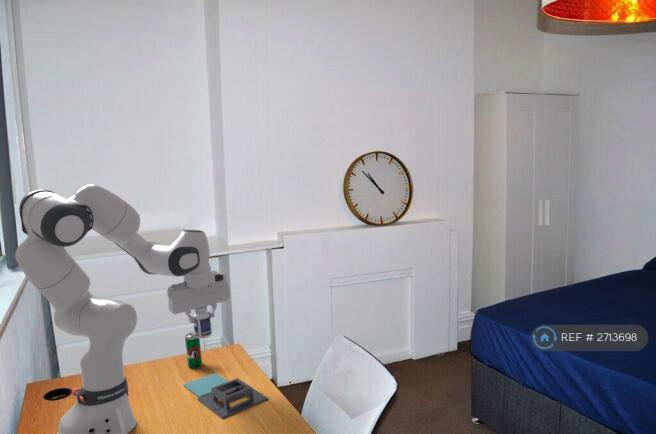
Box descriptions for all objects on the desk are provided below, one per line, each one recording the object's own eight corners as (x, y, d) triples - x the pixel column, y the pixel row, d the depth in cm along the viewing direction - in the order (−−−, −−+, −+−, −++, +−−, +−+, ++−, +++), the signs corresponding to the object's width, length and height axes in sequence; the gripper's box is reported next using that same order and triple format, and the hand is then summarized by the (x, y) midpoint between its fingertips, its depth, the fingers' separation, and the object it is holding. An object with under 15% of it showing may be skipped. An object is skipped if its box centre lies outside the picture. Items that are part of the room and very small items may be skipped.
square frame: (222, 418, 157) (220, 406, 157) (197, 400, 170) (196, 388, 169) (268, 399, 167) (267, 387, 167) (242, 383, 180) (241, 371, 179)
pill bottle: (214, 332, 179) (211, 304, 177) (208, 338, 173) (205, 309, 172) (198, 332, 179) (195, 304, 178) (192, 338, 174) (189, 309, 172)
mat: (199, 397, 171) (199, 396, 171) (183, 385, 180) (183, 384, 180) (232, 385, 179) (232, 383, 178) (215, 374, 188) (215, 372, 188)
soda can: (205, 363, 197) (201, 332, 195) (196, 369, 193) (193, 337, 191) (194, 362, 199) (190, 331, 197) (185, 367, 195) (181, 336, 193)
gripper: (170, 287, 165) (175, 330, 167) (230, 273, 177) (234, 314, 179) (162, 284, 169) (167, 326, 172) (221, 270, 182) (225, 310, 184)
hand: (201, 319), depth 175 cm, fingers closed on pill bottle, 5 cm apart
